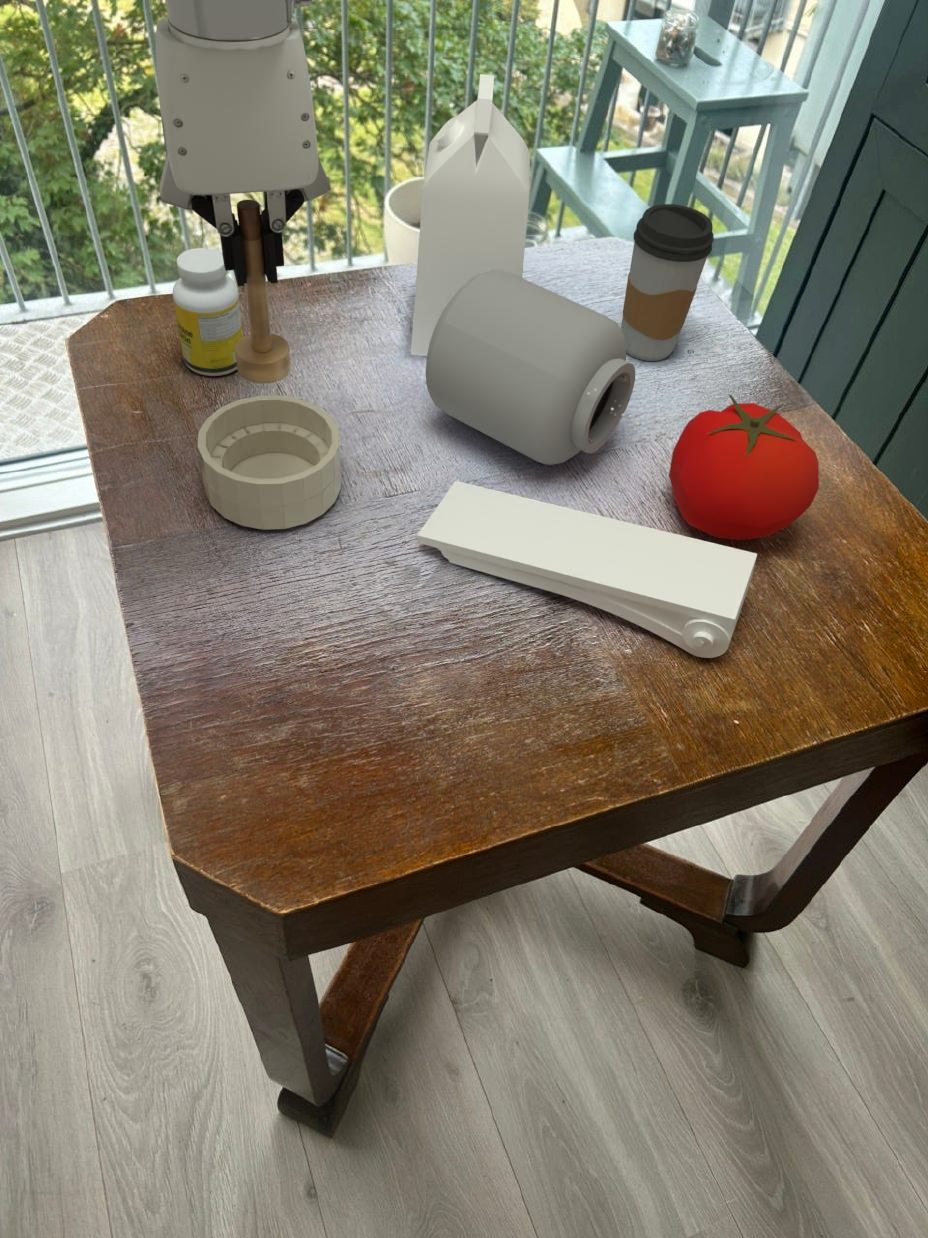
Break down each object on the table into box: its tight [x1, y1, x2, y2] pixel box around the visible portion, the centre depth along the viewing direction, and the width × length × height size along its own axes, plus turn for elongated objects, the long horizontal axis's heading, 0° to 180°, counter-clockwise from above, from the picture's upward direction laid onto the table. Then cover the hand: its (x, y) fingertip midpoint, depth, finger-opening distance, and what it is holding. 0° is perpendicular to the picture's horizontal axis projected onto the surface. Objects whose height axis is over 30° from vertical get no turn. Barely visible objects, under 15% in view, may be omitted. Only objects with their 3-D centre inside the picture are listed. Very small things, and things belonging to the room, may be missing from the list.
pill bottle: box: [172, 247, 244, 377], centre depth 97 cm, size 6×6×12 cm
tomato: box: [668, 393, 820, 541], centre depth 87 cm, size 12×13×12 cm
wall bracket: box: [416, 480, 758, 659], centre depth 84 cm, size 10×7×28 cm
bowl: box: [196, 394, 342, 531], centre depth 87 cm, size 12×12×6 cm
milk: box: [410, 73, 531, 357], centre depth 100 cm, size 12×12×26 cm
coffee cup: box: [620, 203, 714, 362], centre depth 104 cm, size 8×8×15 cm
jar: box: [425, 270, 674, 466], centre depth 92 cm, size 19×15×25 cm
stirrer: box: [235, 199, 292, 384], centre depth 74 cm, size 4×4×14 cm
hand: (254, 273), depth 73 cm, fingers closed on stirrer
